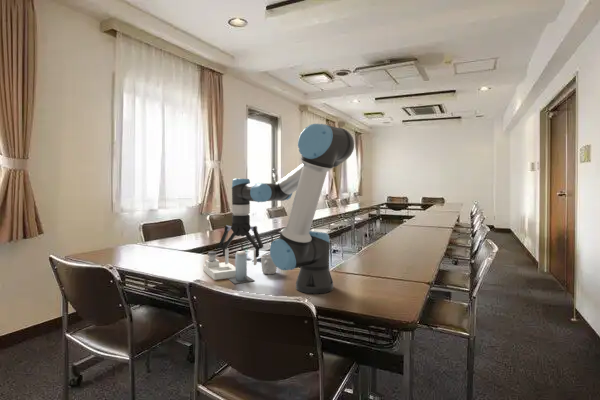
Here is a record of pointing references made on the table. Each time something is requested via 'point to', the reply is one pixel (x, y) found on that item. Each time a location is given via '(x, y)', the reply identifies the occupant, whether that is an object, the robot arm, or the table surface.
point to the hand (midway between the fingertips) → (240, 264)
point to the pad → (240, 281)
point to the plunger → (212, 256)
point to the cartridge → (241, 265)
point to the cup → (268, 265)
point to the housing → (219, 269)
